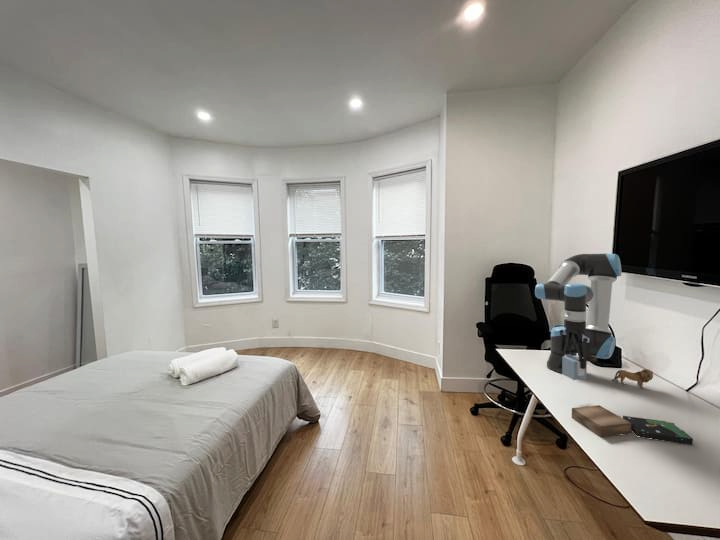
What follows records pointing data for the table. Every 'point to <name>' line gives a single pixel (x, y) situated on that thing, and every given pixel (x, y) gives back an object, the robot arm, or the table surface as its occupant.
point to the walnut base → (601, 421)
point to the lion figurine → (635, 376)
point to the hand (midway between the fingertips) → (574, 371)
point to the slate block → (571, 367)
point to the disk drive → (658, 430)
